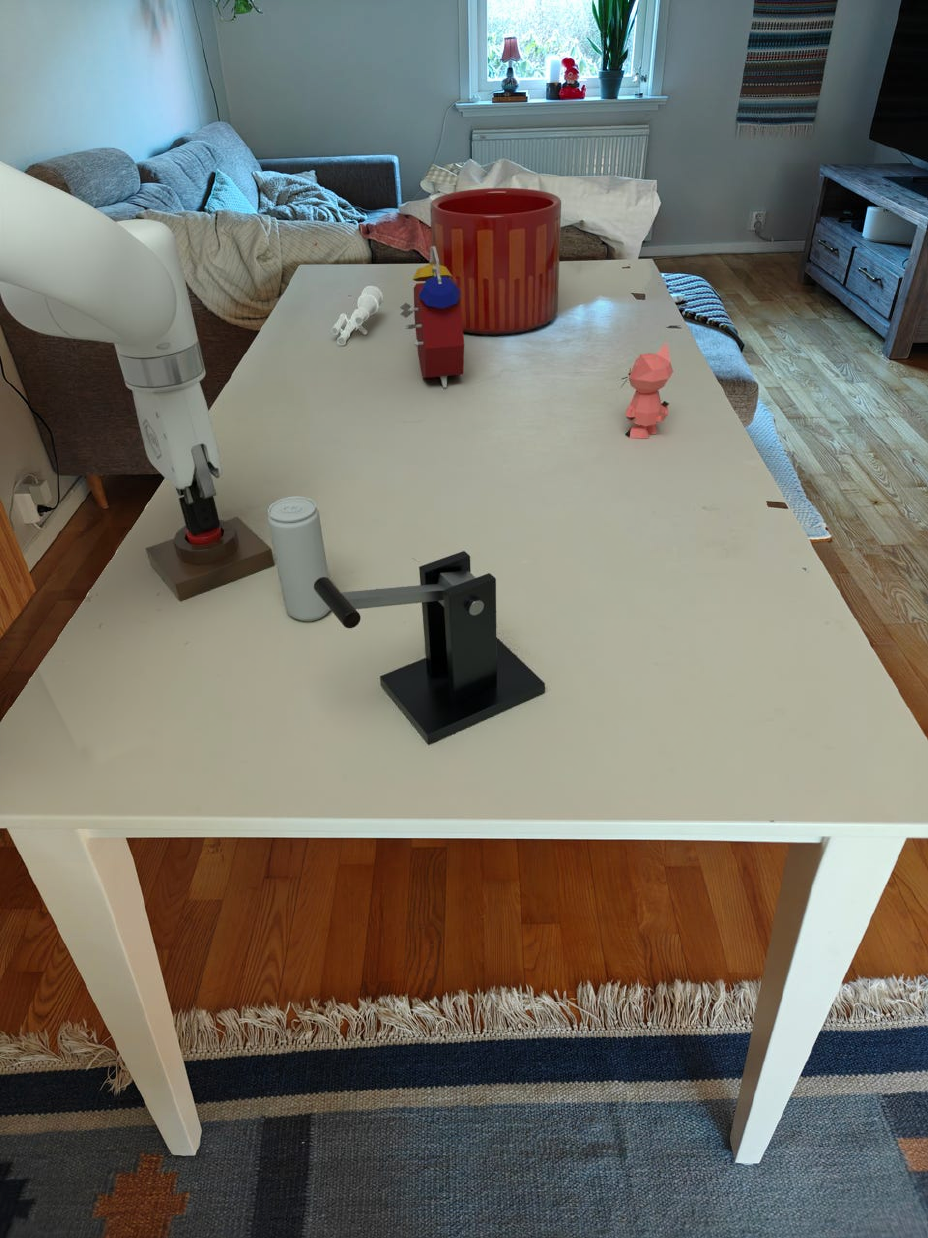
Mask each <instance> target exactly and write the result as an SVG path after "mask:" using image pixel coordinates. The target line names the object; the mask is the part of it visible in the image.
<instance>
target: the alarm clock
mask: <svg viewBox="0 0 928 1238" xmlns="http://www.w3.org/2000/svg"><path fill="white" fill-rule="evenodd" d="M433 251H434V254H435V258H436V265H435V264H433ZM429 254H430V256H429V257H430V259H429V264H427V265H425V266H422V267H419V268H417V269H416V271H415V273H414V274H413V275H414V276H413V277H412V281H415V282H416V284H415V285H414V287H413V305H410V304H409V303H408V302H405V303H404V304H402V305H401V306H400V307H399V308H400V309H401V310H403V311H402V312H401V313H400V316H402V317H404V318H405V319H407V318H408V317H409V316H411V315H412V314H414V315H413V317H414V318H413V319H414V323H412V324H411V323H410V324H408V325H406V329H408V330H412V329H415V338H416V340H415V341H414V343H413V345H414V346H415V347H416V348H417V349H416V350H417V356H418V361H419V366H420V373H421V378H422V379H431V378H439V379H440V381H441V385H442V388H443V389H446V388H447V386H448V385H447V383H448V377H454V376H460V375H461V376H462V375H464V363H465V361H464V360H465V336H464V332H463V324H462V312H461V304H460V299H459V296H460V294H461V292H460V290H459V289H458V288H457V286H456V282H455V281H451V279H450V278H451V277H453V276H452V275H451V274H450V272H449V271H448V269H447V268H446V267H445V266H442V265H439V259H438V255H437V251H436V247H435V246H433V247H432V246H431V247H430V248H429ZM417 282H418V283H417Z"/></svg>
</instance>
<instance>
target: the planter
mask: <svg viewBox="0 0 928 1238" xmlns="http://www.w3.org/2000/svg"><path fill="white" fill-rule="evenodd" d="M429 214H430V234H431V235H430V238H431V239H430V241H431V247H433V246H435V247H436V251H437V255H438V259H439V265H442V266H445V267H446V268H447V269H448V271H449V272H450V274H451V275H452V276H453V277H451V278H450V279H451V281H455V282H456V286H457V288H458V289H459V290H460V292H461V294H460V296H459V299H460V304H461V312H462V324H463V333H467V334H471V335H478V336H479V335H481V336H506V335H514V334H522V333H527V332H529V331H534V330H536V329H539V328H541V327H542V326H545V325H547V324H549V323H550V322H551V321H552V320H553V319H554V318H555V317H556V316H557V314H558V309H559V288H560V287H559V285H560V260H561V259H560V257H561V227H562V226H561V225H562V224H561V222H562V200H561V198H560V197H559V196H557V195H556V194H553V193H551V192H548V191H543V190H538V189H531V188H521V187H520V188H517V187H488V188H475V189H467V190H459V191H455V192H450V193H446V194H443V195H440V196H437V197H436V198H434V199H432V201H431V202H430V203H429ZM433 264H435V265H436V258H435V254H434V251H433Z"/></svg>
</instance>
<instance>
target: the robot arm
mask: <svg viewBox="0 0 928 1238" xmlns="http://www.w3.org/2000/svg"><path fill="white" fill-rule="evenodd" d="M0 299H1V301H2V303H3V305H4V307H5V308H6V310H7V312H8V313H9V314H10V315H11V316H12V317H13V318H14V320H16V321H17V322H18V323H19V324H21V325H22V326H24V327H26V328H28V329H29V330H32V331H34V332H36V333H39V334H43V335H47V336H52V337H60V338H66V339H72V340H73V339H74V340H82V341H93V342H94V341H95V342H102V343H109V344H114V345H113V346H114V348H115V352H116V355H117V359H118V362H119V366H120V369H121V373H122V378H123V380H124V384H125V387H126V388H128V389H129V390H131V391H132V398H133V402H134V407H135V412H136V416H137V421H138V425H139V429H140V433H141V438H142V441H143V446H144V450H145V454H146V457H147V459H148V461H149V462H150V464H151V465H152V466H153V467H154V468H155V469H156V470H157V471H158V472H159V474H161V476H162V477H163V478H164V479H166V480H167V481H168V482H169V483H170V485H172V486H173V487H174V488H175V490H176V493H177V495H178V496H179V498H178V501H179V504H180V509H181V513H182V516H183V520H184V524H185V526H186V528H187V529H188V530H189V531H190V532H191V534H192V535H194V536H196V535H199V534H202V533H205V532H208V531H211V530H213V529H216V528H218V527H219V526H220V522H219V520H220V518H219V515H218V509H217V506H216V501H215V496H217V490H216V488H215V484H214V480H213V477H214V478H216V479H219V478H221V476H222V474H223V465H222V459H221V454H220V449H219V444H218V441H217V436H216V432H215V430H214V425H213V421H212V419H211V415H210V412H209V408H208V405H207V404H208V403H207V401H206V398H205V395H204V391H203V388H202V386H201V383H200V382H201V381H202V380H203V379H204V378H205V377H206V374H207V373H206V368H205V364H204V363H205V362H204V359H203V355H202V350H201V345H200V341H199V338H198V334H197V328H196V324H195V319H194V315H193V310H192V306H191V305H192V304H191V300H190V296H189V291H188V287H187V283H186V277H185V273H184V269H183V265H182V260H181V255H180V251H179V247H178V244H177V239H176V237H175V234H174V232H173V231H172V230H171V228H170V227H169V226H168V225H166V224H165V223H164V222H161V221H158V220H155V219H147V218H146V219H145V218H144V219H142V218H140V219H139V218H137V219H136V218H135V219H123V220H118V221H117V220H116V221H115V220H114V219H112V218H111V217H109V216H108V215H107V214H105V213H103V212H102V211H100V210H99V209H97V208H95V207H94V206H92V205H90V204H88V203H87V202H85V201H83V200H81V199H79V198H77V197H76V196H74V195H72V194H69V193H68V192H66V191H64V190H62V189H59V188H57V187H55V186H53V185H51V184H49V183H48V182H45V181H43V180H40V179H38V178H36V177H34V176H32V175H29V174H27V173H26V172H23V171H21V170H19V169H17V168H15V167H13V166H11V165H9V164H7V163H6V162H3V161H1V160H0ZM212 476H213V477H212Z"/></svg>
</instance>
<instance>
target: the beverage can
mask: <svg viewBox="0 0 928 1238" xmlns="http://www.w3.org/2000/svg"><path fill="white" fill-rule="evenodd" d="M320 518H321V517H320V512H319V509H318V507H317V503H316V502H315V501H314V500H313V499H311V498H309V497H306V496H305V497H304V496H296V495H295V496H288V497H283V498H280V499H278V500H276V501H274V502H273V503H271V504H270V505H269V507H268V508H267V523H268V527H269V532H270V533H269V534H270V538H271V544H272V548H273V549H272V550H273V554H274V558H275V563H276V568H277V573H278V574H277V575H278V578H279V584H280V589H281V593H282V598H283V603H284V608H285V611H286V613H287V614H288V615H289V616H290V617H291V618H292V619H296V620H297V621H300V622H307V623H308V622H314V621H318V620H320V619H322V618H324V617H326V615H328V613H329V612H330V611H331V610H330V608H329V607H328V606H327V605H326V604H325V602H324V601H323V600H322V599H321V597H320V596H319V595H318V594H317V593H316V591H315V590H314V583H315V582H316V580H318V579H319V578H321V577H327V578H329V579H330V576H329V570H328V563H327V557H326V551H325V544H324V537H323V530H322V525H321V519H320Z"/></svg>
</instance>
